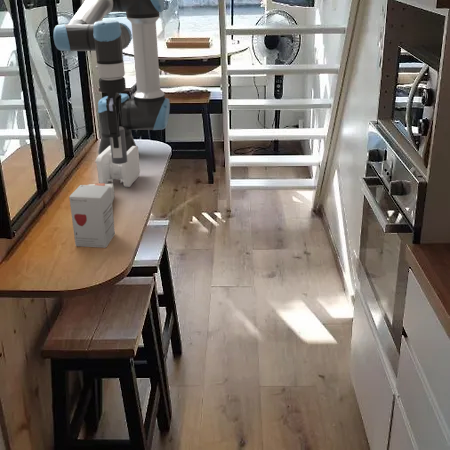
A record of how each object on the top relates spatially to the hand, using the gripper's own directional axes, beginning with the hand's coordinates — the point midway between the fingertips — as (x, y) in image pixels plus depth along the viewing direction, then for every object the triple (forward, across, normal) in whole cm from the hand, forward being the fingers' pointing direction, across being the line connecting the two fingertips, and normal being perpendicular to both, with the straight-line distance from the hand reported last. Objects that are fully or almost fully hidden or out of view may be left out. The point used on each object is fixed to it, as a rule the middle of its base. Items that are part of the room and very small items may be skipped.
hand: (119, 154), depth 185 cm
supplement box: (+17, +24, -5) cm, 30 cm away
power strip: (+17, +1, -8) cm, 19 cm away
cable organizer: (+17, -21, -4) cm, 27 cm away
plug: (+2, 0, 0) cm, 2 cm away
